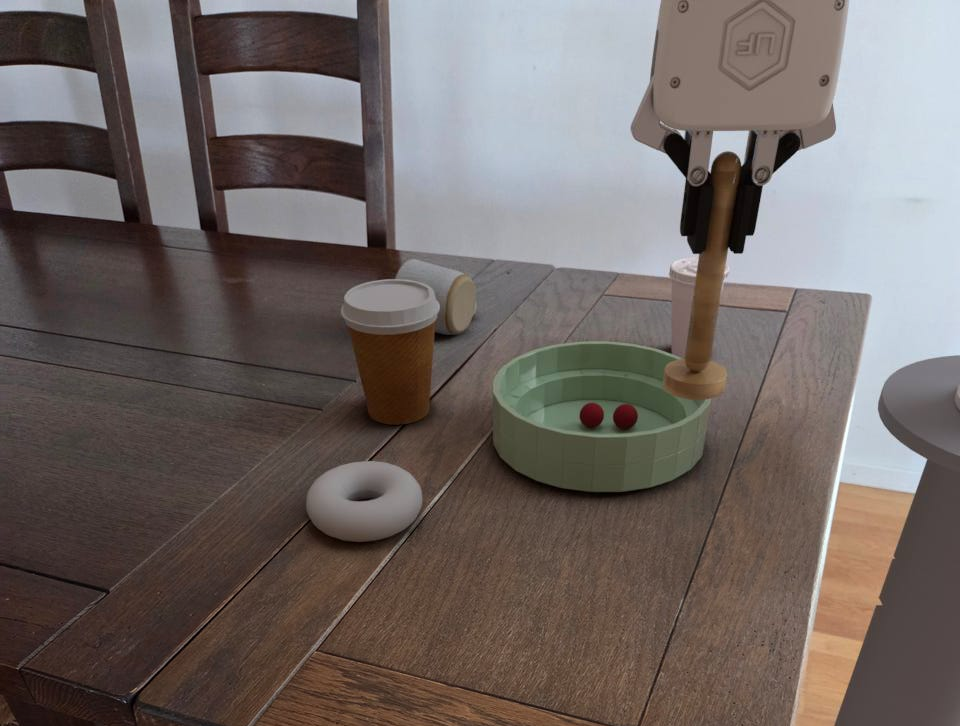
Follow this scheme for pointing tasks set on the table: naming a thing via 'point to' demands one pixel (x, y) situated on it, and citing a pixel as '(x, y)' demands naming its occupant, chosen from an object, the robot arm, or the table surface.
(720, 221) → the stirrer
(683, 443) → the bowl
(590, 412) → the cherry
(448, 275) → the ceramic mug
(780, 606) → the table surface
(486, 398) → the table surface
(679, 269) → the smoothie
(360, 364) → the disposable coffee cup
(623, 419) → the cherry
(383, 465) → the donut
